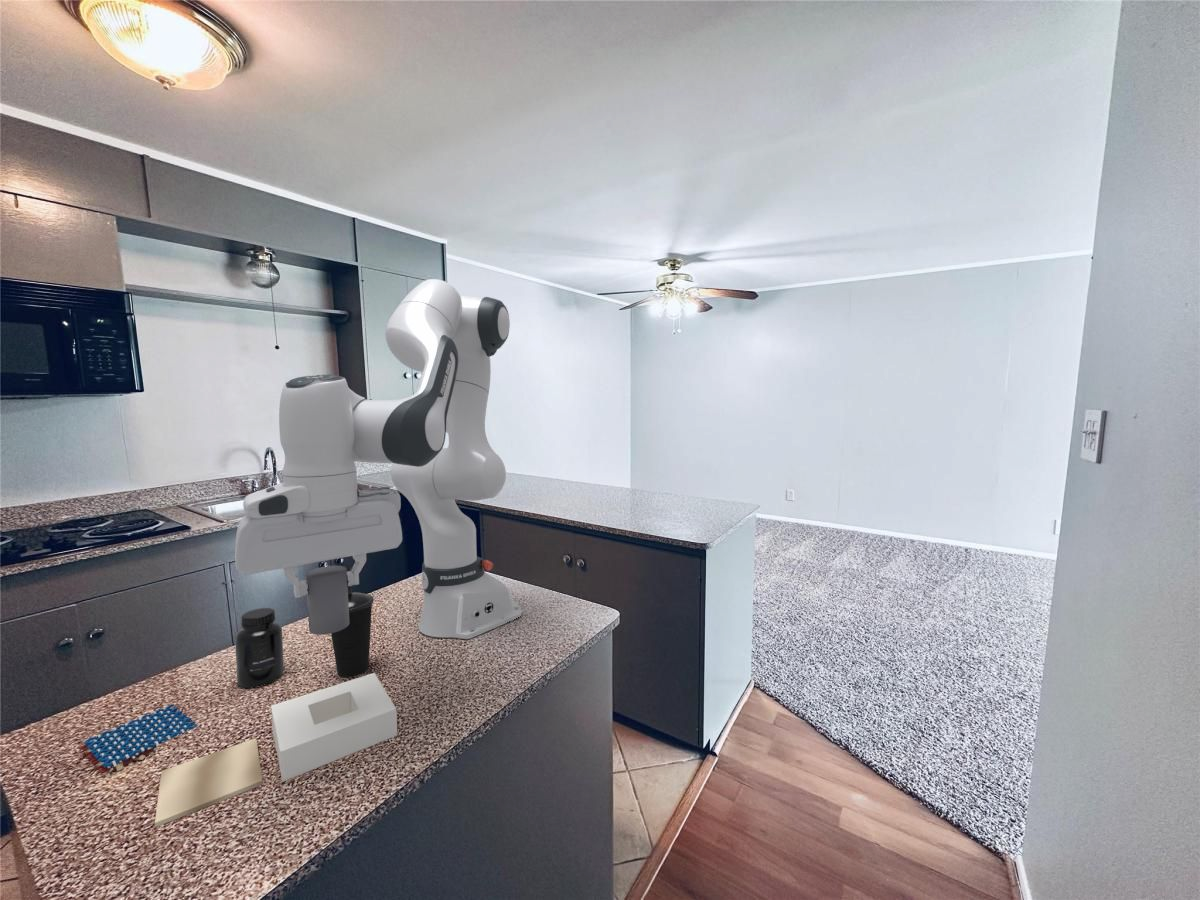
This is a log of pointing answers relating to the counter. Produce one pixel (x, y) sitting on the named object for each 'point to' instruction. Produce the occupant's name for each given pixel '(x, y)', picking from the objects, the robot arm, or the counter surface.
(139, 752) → the woven mat
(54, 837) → the counter surface
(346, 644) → the drinking cup
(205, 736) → the counter surface
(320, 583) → the grey cylinder
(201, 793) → the pad
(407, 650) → the counter surface
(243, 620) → the supplement bottle
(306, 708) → the block
